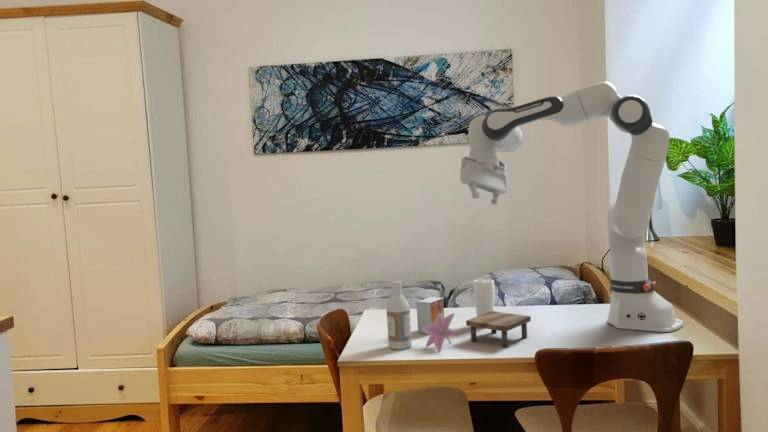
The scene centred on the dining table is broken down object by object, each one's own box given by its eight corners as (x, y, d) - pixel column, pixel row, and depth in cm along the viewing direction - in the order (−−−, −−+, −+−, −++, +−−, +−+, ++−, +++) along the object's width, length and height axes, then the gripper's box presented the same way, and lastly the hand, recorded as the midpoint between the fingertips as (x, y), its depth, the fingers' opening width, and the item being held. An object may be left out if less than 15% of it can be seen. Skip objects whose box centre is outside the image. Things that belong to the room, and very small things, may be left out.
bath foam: (384, 347, 203) (380, 282, 202) (402, 342, 207) (399, 278, 206) (397, 351, 198) (393, 285, 196) (416, 346, 202) (412, 281, 200)
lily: (423, 344, 208) (412, 321, 203) (456, 326, 209) (446, 303, 204) (436, 366, 197) (425, 342, 193) (471, 347, 198) (461, 323, 194)
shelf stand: (531, 337, 205) (530, 316, 204) (506, 348, 194) (505, 326, 194) (492, 331, 214) (491, 311, 214) (467, 341, 204) (466, 320, 203)
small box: (432, 335, 214) (430, 302, 213) (417, 333, 217) (415, 301, 216) (445, 329, 220) (443, 297, 219) (431, 327, 223) (429, 296, 222)
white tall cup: (495, 327, 218) (493, 282, 217) (474, 327, 219) (472, 282, 218) (496, 322, 224) (494, 278, 223) (476, 322, 226) (474, 278, 225)
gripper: (468, 151, 217) (471, 191, 212) (509, 167, 229) (512, 205, 225) (454, 157, 221) (456, 197, 217) (495, 172, 234) (497, 209, 229)
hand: (485, 201), depth 221 cm, fingers open, 8 cm apart
